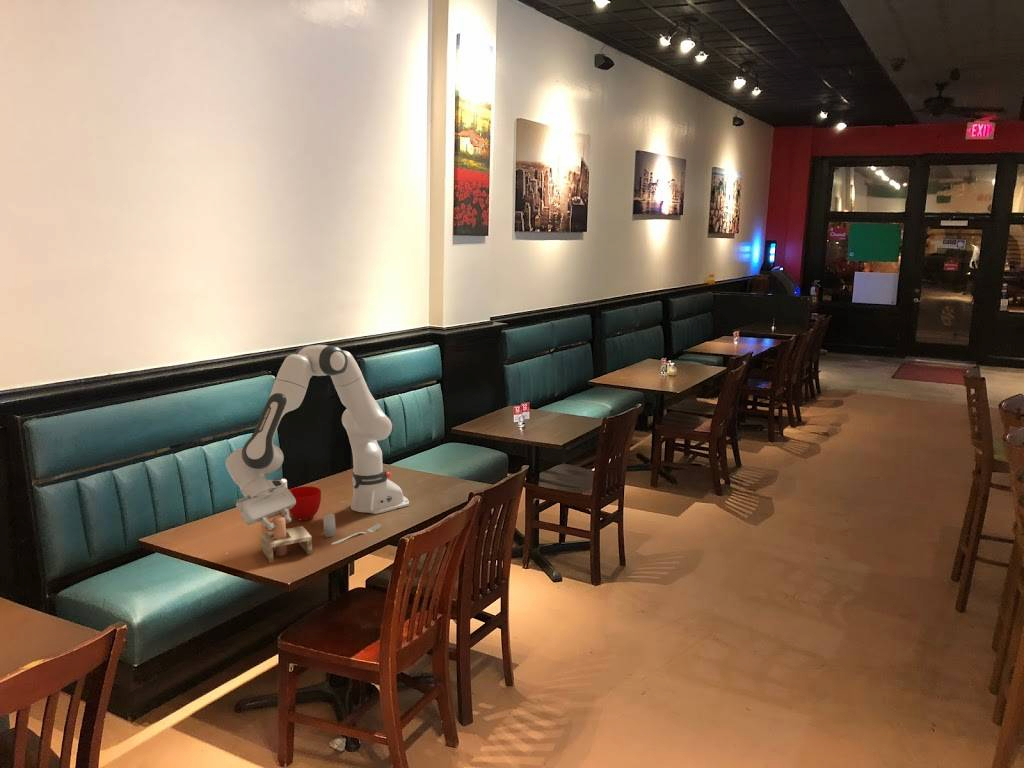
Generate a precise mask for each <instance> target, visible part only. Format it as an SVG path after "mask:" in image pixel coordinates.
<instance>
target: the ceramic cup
mask: <svg viewBox="0 0 1024 768" xmlns="http://www.w3.org/2000/svg"><path fill="white" fill-rule="evenodd" d="M288 490H289V491H290V492H291V493H292V495H293V496H294V498H295V499H296V504H295V505H294V507H293V508H291V509H289V514H290V515H291V516H292V517H293V518H294V519H295V520H297V519H301V520H300V521H306V520H305V519H308V520H311V519H313V518H314V516H315V515H316V514H317V512H319V509H320V506H321V501H322V490H321V488H319V487H317V486H311V485H309V486H307V485H305V486H297V487H293V488H290V489H289V488H288ZM312 517H313V518H312ZM310 518H311V519H310Z"/></svg>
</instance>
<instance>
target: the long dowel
mask: <svg viewBox="0 0 1024 768" xmlns="http://www.w3.org/2000/svg"><path fill="white" fill-rule="evenodd" d="M272 522H273V524H274V525H275V528H274V529H272V531H273V532H274V537H273V541H275V540H280V539H286V538H287V535H286V529H287V528H286V527H287V525H286V523H285V517H284V516H276V517H273V519H272ZM286 553H287V554H288V545H282V546H277V547H274V554H276V555H275V556H285V555H287V554H286ZM284 554H285V555H284Z"/></svg>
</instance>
